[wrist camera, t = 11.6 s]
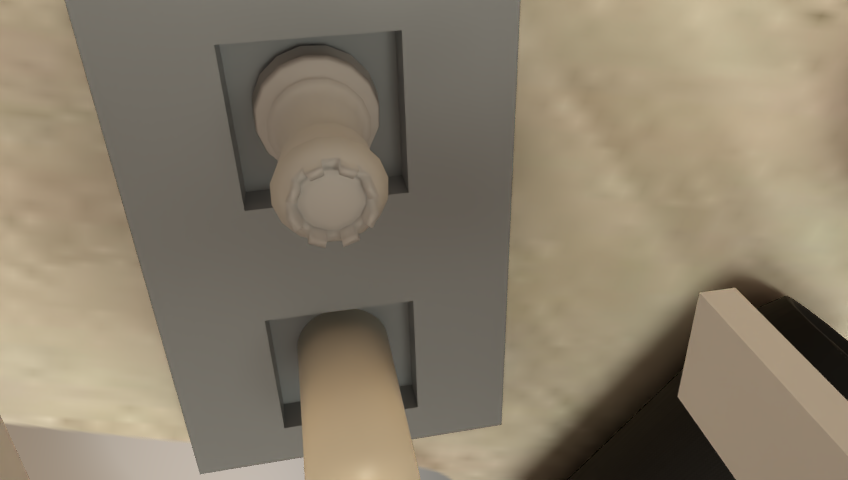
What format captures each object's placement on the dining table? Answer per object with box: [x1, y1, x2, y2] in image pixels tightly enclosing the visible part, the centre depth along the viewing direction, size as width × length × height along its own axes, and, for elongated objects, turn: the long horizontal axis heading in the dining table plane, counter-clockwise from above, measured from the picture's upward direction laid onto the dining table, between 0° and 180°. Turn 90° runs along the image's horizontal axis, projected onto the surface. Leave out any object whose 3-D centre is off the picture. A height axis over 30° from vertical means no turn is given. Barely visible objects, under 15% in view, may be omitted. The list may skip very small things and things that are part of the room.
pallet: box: [65, 0, 520, 480], centre depth 25 cm, size 21×14×9 cm, turn 1°
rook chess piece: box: [252, 45, 388, 248], centre depth 22 cm, size 4×4×8 cm
